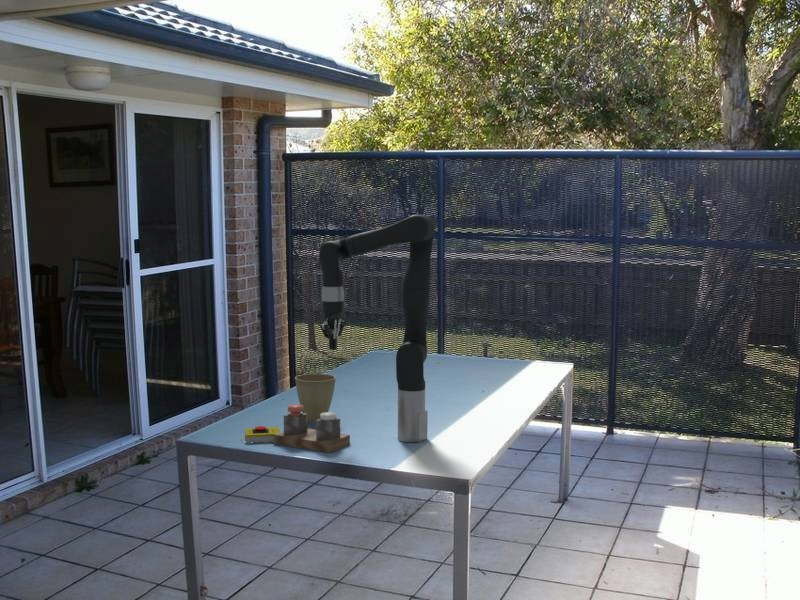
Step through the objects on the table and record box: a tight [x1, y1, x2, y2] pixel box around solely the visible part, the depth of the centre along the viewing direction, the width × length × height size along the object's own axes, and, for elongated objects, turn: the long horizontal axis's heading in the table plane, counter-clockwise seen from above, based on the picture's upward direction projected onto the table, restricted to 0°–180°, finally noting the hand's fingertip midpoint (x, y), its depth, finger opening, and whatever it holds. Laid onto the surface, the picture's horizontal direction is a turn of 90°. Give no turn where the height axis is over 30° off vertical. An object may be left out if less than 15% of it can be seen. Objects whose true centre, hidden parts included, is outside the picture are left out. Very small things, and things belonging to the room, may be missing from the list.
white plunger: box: [320, 411, 337, 421], centre depth 262 cm, size 5×5×7 cm
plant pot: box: [294, 373, 337, 423], centre depth 297 cm, size 15×15×16 cm
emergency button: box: [240, 425, 281, 444], centre depth 272 cm, size 9×4×15 cm
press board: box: [273, 412, 351, 453], centre depth 266 cm, size 22×12×9 cm, turn 61°
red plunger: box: [287, 403, 303, 416], centre depth 269 cm, size 5×5×7 cm
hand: (333, 349), depth 278 cm, fingers closed
